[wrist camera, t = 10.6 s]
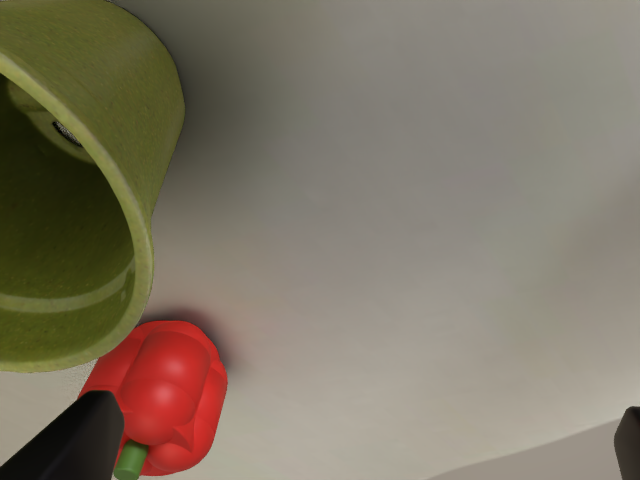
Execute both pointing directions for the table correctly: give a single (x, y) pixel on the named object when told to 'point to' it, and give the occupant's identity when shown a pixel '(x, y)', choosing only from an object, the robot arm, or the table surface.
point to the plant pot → (78, 176)
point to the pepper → (163, 397)
